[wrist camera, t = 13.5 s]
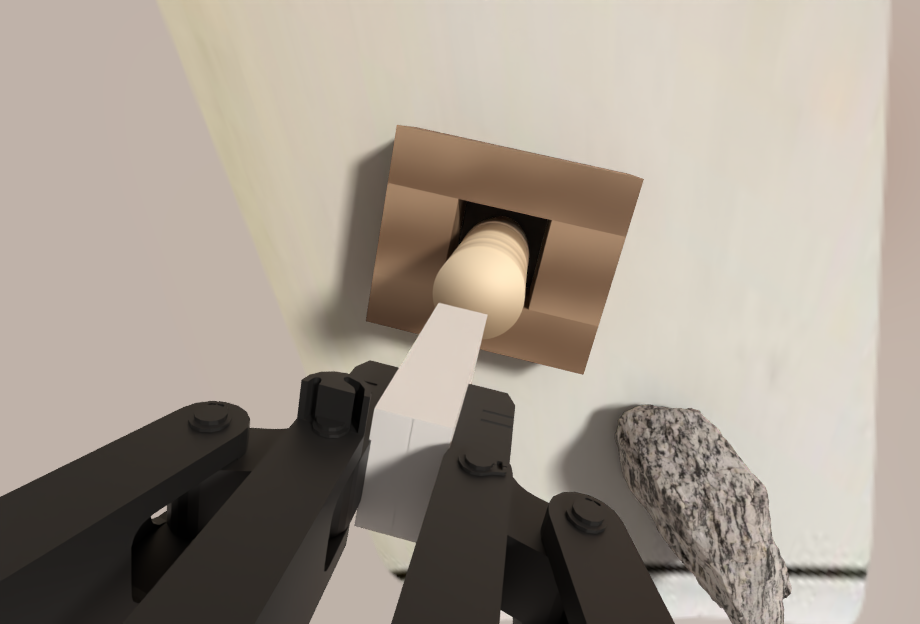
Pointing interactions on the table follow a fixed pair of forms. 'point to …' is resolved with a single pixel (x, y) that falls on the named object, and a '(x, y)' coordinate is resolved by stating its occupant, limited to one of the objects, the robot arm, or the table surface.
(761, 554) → the rock
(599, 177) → the board
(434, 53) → the table surface
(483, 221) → the peg
